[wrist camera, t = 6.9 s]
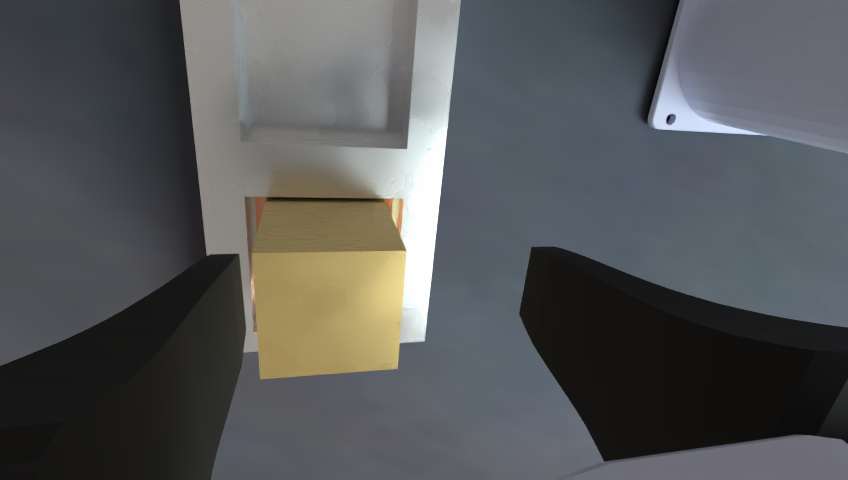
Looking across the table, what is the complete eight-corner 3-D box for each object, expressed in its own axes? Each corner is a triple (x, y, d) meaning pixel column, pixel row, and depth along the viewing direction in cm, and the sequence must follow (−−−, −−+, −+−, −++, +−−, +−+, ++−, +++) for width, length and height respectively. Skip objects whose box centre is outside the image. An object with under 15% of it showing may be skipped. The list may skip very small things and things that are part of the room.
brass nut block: (380, 190, 20) (406, 250, 14) (375, 284, 21) (397, 368, 16) (268, 188, 18) (251, 252, 13) (273, 287, 20) (260, 379, 15)
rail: (474, -345, 14) (504, -413, 12) (413, 312, 24) (424, 341, 22) (155, -443, 12) (121, -546, 10) (226, 320, 22) (217, 353, 20)
